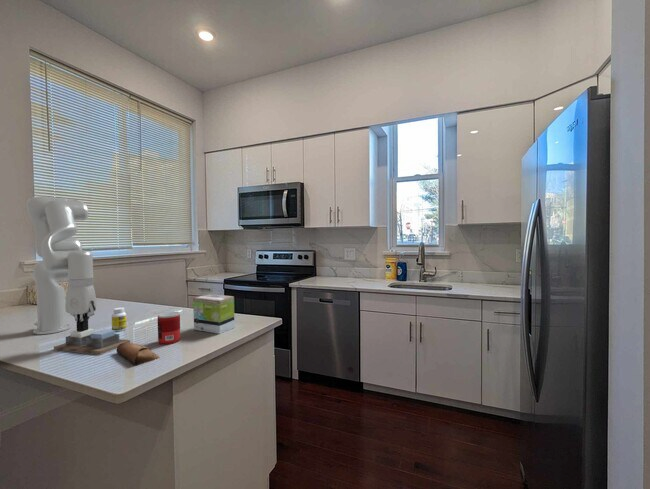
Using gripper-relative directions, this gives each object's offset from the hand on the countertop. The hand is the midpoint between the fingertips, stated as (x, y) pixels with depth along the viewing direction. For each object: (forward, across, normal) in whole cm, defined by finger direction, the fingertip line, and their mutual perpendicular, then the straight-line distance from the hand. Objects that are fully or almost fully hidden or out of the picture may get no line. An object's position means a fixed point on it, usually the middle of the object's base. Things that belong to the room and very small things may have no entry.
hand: (82, 330), depth 116 cm
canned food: (+6, +30, +11) cm, 32 cm away
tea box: (+6, +38, +29) cm, 48 cm away
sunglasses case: (+6, +30, -4) cm, 31 cm away
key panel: (+6, +5, 0) cm, 8 cm away
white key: (+3, 0, 0) cm, 3 cm away
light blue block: (+3, +10, 0) cm, 10 cm away
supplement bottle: (+6, -4, +19) cm, 20 cm away
